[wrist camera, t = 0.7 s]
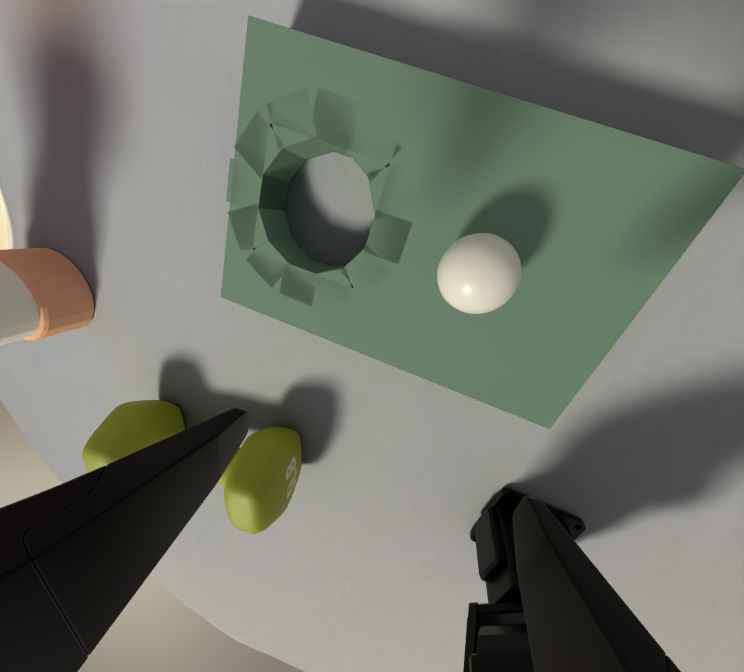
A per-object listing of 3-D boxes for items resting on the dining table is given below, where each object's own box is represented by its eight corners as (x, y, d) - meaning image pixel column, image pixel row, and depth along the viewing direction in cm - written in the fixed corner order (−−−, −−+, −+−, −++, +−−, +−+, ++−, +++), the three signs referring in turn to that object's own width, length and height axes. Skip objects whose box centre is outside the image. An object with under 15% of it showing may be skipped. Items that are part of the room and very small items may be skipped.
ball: (525, 246, 14) (551, 253, 11) (490, 312, 15) (503, 336, 12) (454, 221, 14) (458, 220, 11) (427, 288, 16) (423, 306, 12)
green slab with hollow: (688, 180, 14) (747, 169, 11) (534, 400, 20) (549, 428, 17) (277, 50, 16) (243, 13, 13) (245, 286, 22) (217, 295, 19)
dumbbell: (309, 413, 25) (261, 481, 18) (309, 481, 28) (268, 560, 21) (149, 379, 28) (59, 427, 21) (165, 443, 31) (91, 503, 24)
